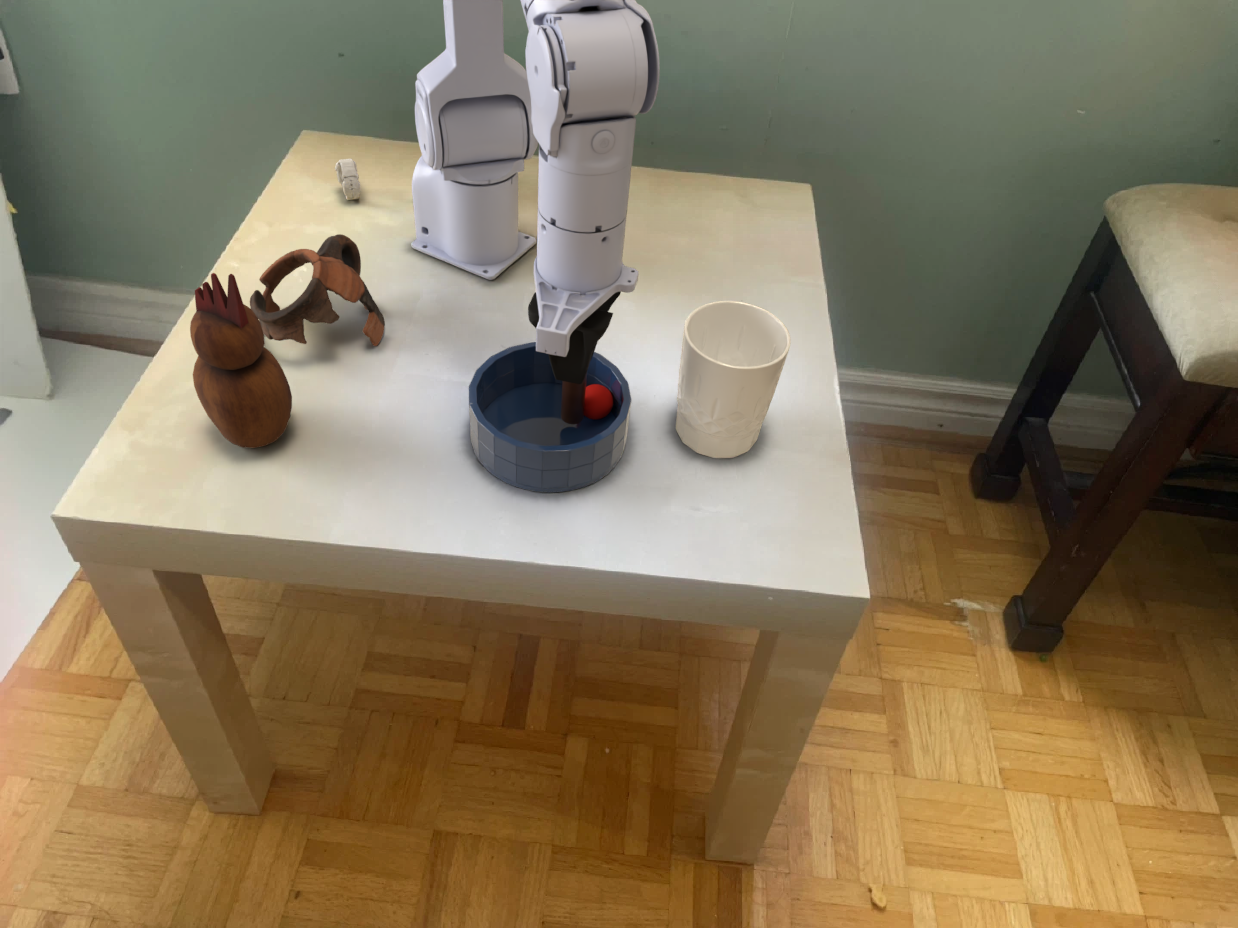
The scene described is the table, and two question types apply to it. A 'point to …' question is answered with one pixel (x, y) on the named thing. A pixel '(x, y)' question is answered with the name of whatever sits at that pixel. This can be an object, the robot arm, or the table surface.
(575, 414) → the stick
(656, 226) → the table surface
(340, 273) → the brown curved pieces
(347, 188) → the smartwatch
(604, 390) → the red ball
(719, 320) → the white cup
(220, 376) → the wooden figurine
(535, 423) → the bowl
